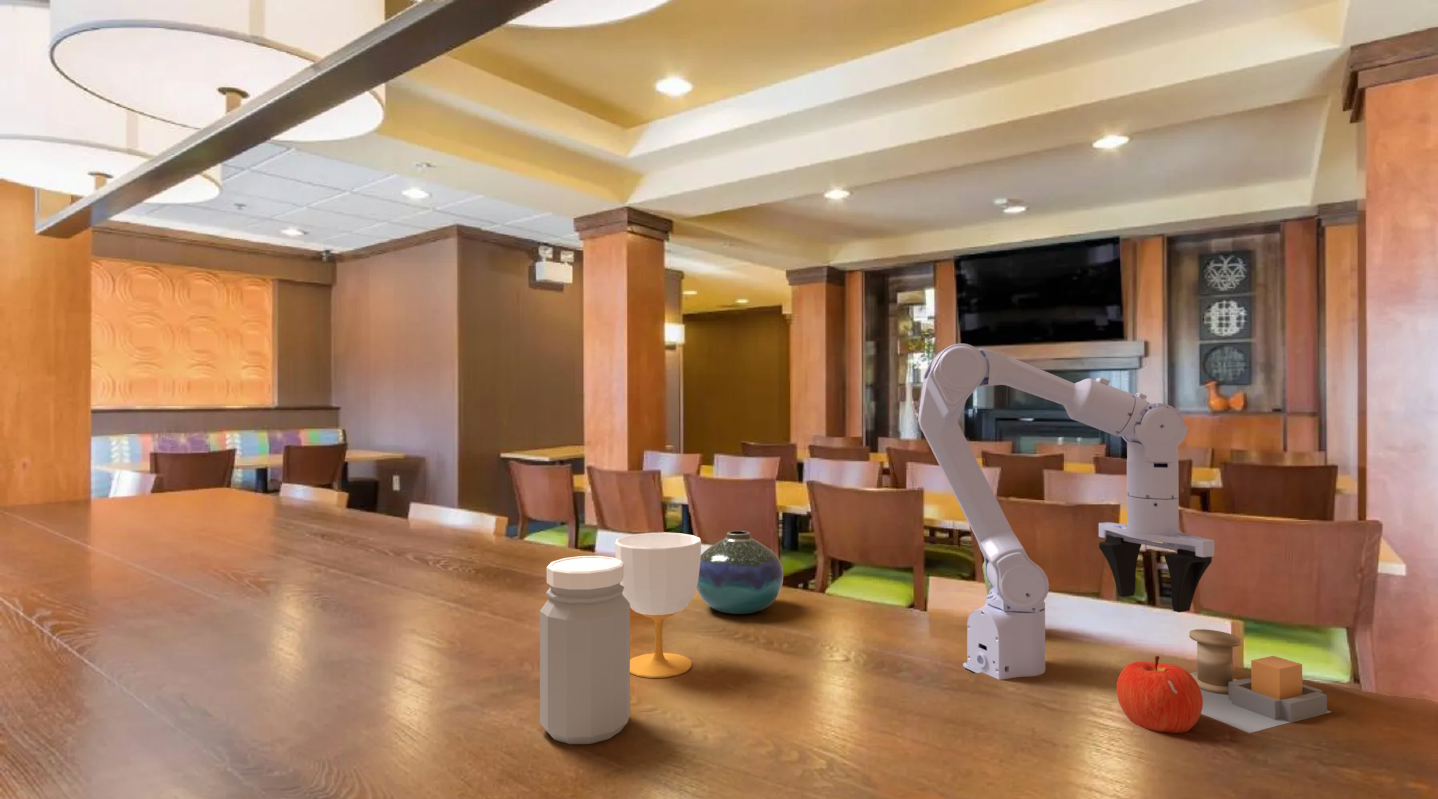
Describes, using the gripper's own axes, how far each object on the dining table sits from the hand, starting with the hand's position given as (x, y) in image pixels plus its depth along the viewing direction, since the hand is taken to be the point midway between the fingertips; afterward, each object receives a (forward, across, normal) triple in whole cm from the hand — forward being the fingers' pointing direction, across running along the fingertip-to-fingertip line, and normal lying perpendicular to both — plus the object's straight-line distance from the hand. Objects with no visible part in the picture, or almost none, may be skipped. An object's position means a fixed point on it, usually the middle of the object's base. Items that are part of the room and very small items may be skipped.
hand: (1152, 603), depth 93 cm
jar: (+10, +14, +70) cm, 72 cm away
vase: (+10, +50, +36) cm, 62 cm away
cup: (+10, +29, +57) cm, 65 cm away
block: (+9, -12, -4) cm, 16 cm away
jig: (+10, -8, -1) cm, 13 cm away
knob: (+10, -6, -4) cm, 12 cm away
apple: (+10, -10, +12) cm, 19 cm away
